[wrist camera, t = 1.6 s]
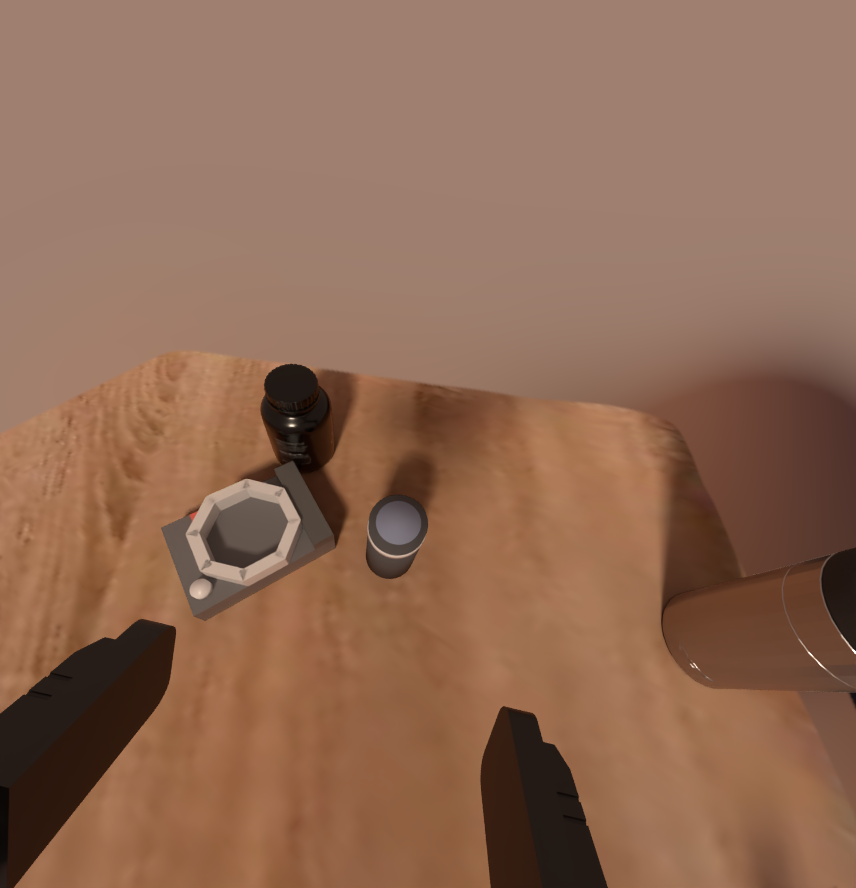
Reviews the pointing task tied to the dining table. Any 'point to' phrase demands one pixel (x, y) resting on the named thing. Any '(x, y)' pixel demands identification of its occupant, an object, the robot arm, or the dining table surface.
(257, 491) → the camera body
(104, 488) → the dining table surface
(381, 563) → the lens
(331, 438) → the supplement bottle
